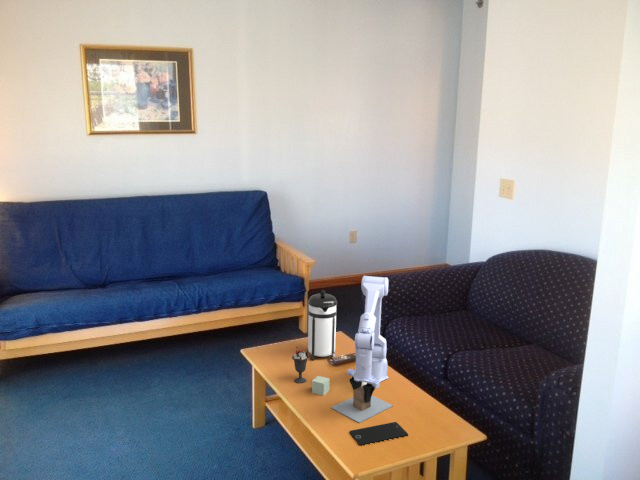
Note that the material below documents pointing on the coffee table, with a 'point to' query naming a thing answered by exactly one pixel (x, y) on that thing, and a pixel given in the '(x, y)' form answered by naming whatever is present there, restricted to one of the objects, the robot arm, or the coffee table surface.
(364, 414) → the slate board
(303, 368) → the sundae
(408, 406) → the coffee table surface
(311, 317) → the coffee press
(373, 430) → the cell phone
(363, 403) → the walnut block
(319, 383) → the sage block
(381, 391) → the coffee table surface
